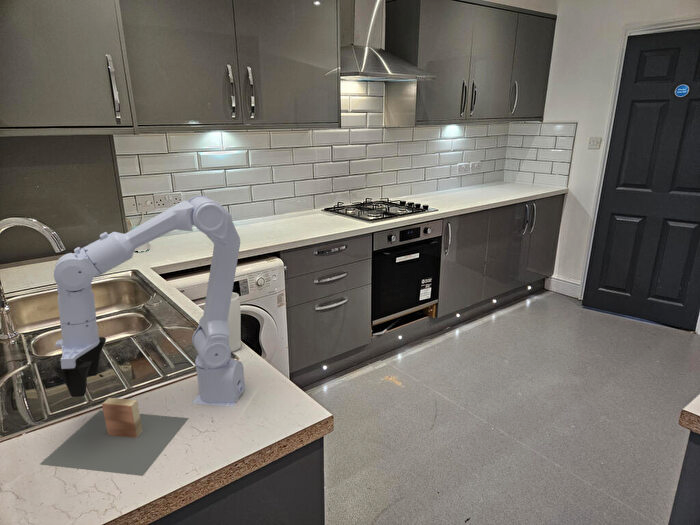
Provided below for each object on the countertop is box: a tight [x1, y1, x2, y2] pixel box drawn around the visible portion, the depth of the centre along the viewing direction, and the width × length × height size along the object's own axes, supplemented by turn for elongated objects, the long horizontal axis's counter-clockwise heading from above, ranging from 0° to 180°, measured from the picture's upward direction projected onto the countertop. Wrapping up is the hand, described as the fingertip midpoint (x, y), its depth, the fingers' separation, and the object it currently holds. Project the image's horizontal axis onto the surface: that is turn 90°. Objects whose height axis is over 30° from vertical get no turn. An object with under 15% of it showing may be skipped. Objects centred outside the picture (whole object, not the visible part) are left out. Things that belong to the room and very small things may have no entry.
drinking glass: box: [227, 291, 242, 353], centre depth 121 cm, size 7×7×15 cm
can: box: [130, 225, 150, 251], centre depth 219 cm, size 7×7×12 cm
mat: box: [39, 409, 190, 477], centre depth 87 cm, size 20×16×1 cm
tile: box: [101, 397, 143, 438], centre depth 88 cm, size 6×2×7 cm, turn 81°
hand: (85, 385), depth 87 cm, fingers open, 7 cm apart
